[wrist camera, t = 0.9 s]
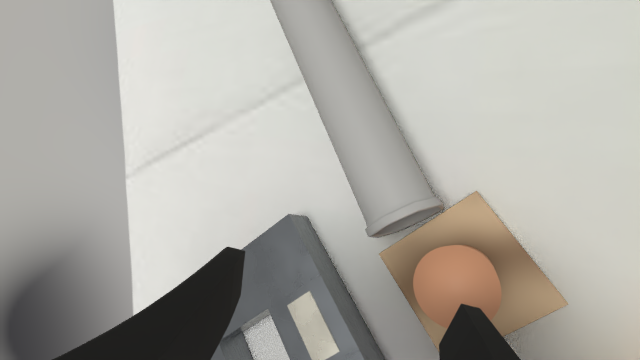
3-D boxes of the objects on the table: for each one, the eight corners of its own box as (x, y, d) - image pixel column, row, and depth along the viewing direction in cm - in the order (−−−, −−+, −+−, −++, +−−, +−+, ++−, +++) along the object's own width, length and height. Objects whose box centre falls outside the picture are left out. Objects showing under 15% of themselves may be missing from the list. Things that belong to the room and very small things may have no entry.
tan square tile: (564, 301, 19) (568, 304, 19) (448, 359, 22) (446, 364, 21) (476, 192, 23) (476, 190, 22) (382, 253, 25) (378, 253, 24)
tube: (293, 12, 34) (396, 234, 25) (251, -11, 30) (355, 242, 21) (327, -32, 31) (457, 203, 22) (285, -65, 27) (422, 206, 18)
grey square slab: (414, 415, 22) (405, 439, 19) (248, 491, 26) (220, 520, 24) (306, 216, 28) (288, 213, 25) (186, 305, 32) (158, 311, 30)
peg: (511, 288, 20) (521, 306, 15) (454, 319, 21) (444, 345, 16) (469, 232, 21) (464, 230, 16) (417, 264, 23) (397, 271, 17)
